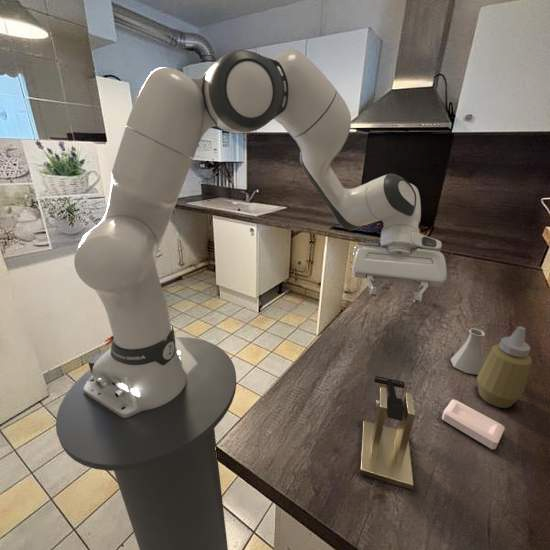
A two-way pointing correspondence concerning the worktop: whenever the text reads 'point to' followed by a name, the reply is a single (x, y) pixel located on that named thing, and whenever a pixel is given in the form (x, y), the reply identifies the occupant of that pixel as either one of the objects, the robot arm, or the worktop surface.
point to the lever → (392, 398)
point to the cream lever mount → (388, 445)
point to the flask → (470, 353)
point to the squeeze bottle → (505, 371)
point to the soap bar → (473, 423)
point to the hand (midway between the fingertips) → (394, 298)
